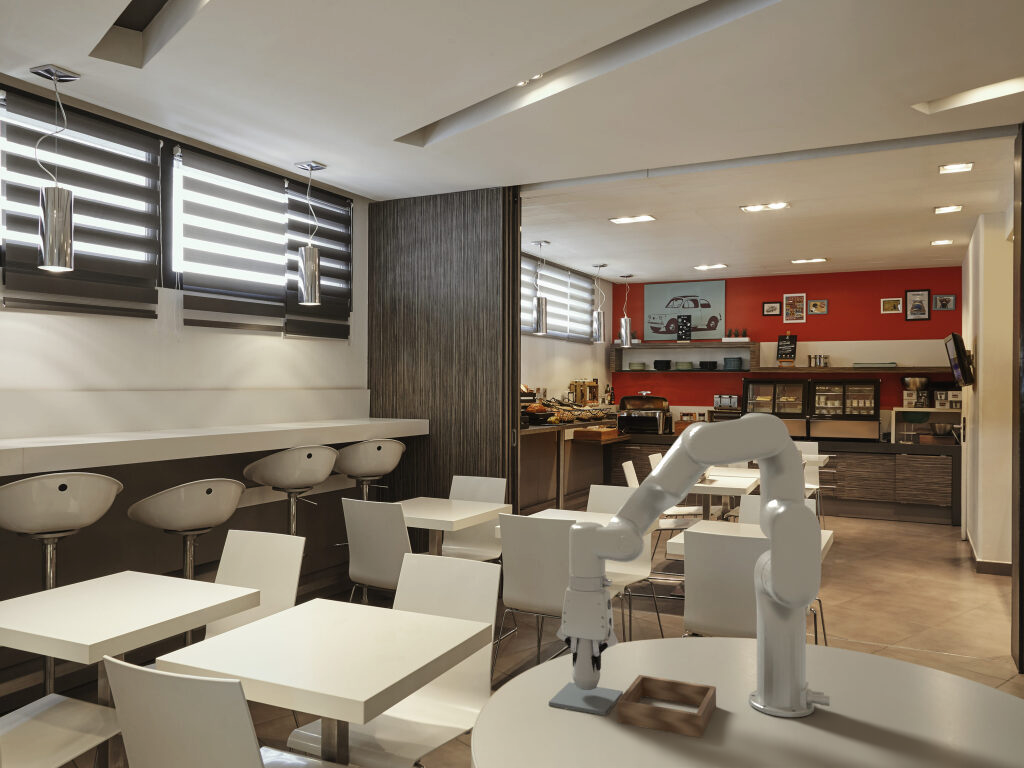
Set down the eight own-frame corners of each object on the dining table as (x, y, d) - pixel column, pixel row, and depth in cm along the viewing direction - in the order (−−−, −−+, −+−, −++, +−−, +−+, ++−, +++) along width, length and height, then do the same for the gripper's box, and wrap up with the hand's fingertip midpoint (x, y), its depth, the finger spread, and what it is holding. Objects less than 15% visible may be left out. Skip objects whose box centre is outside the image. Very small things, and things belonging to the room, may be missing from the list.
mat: (622, 694, 164) (622, 690, 164) (605, 715, 154) (605, 711, 154) (569, 685, 169) (569, 682, 169) (548, 705, 158) (548, 701, 158)
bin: (716, 706, 158) (716, 686, 159) (701, 737, 144) (701, 715, 144) (639, 693, 165) (639, 674, 165) (617, 722, 150) (617, 701, 151)
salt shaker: (598, 692, 158) (599, 628, 158) (570, 690, 159) (571, 626, 159) (601, 682, 164) (601, 620, 164) (574, 680, 165) (574, 618, 165)
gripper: (630, 583, 162) (630, 672, 162) (556, 575, 169) (556, 660, 168) (620, 591, 155) (619, 684, 155) (543, 582, 162) (543, 671, 162)
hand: (586, 671), depth 162 cm, fingers closed on salt shaker, 3 cm apart
